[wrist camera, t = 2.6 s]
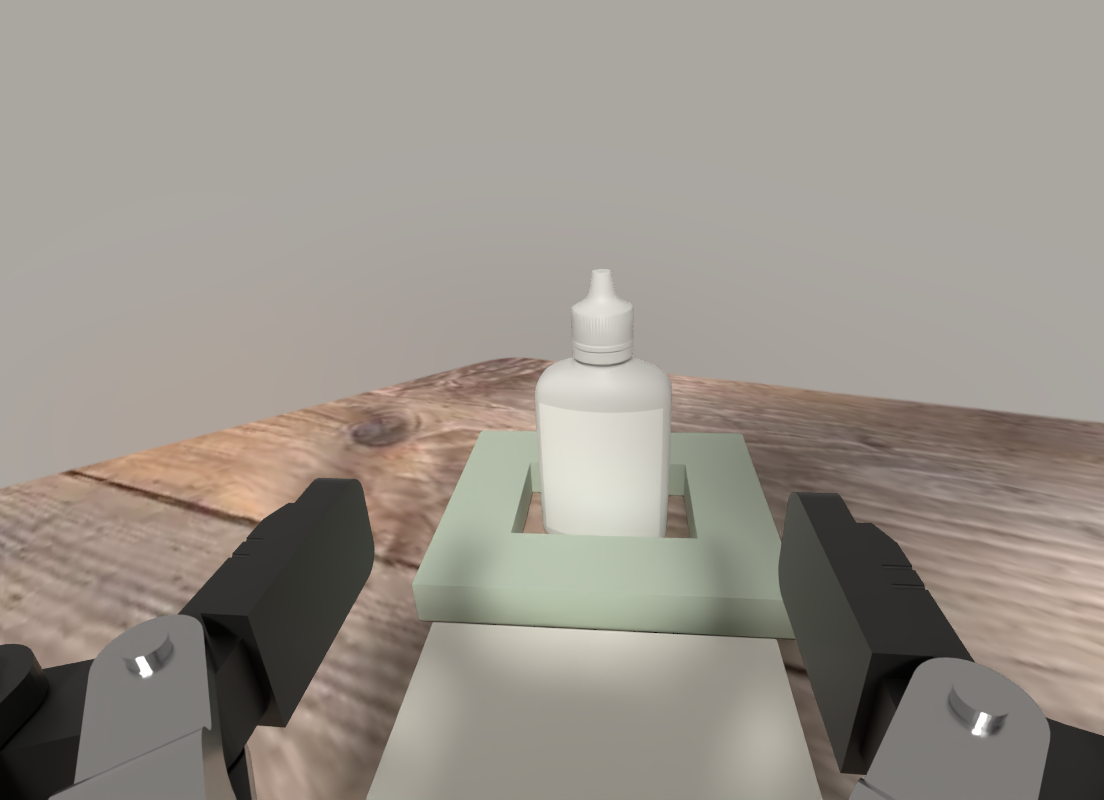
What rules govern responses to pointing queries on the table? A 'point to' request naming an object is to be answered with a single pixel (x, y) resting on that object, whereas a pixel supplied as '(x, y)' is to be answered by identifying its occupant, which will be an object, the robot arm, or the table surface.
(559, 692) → the tile
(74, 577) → the table surface
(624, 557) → the holder
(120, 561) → the table surface
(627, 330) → the eye dropper bottle
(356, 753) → the table surface
